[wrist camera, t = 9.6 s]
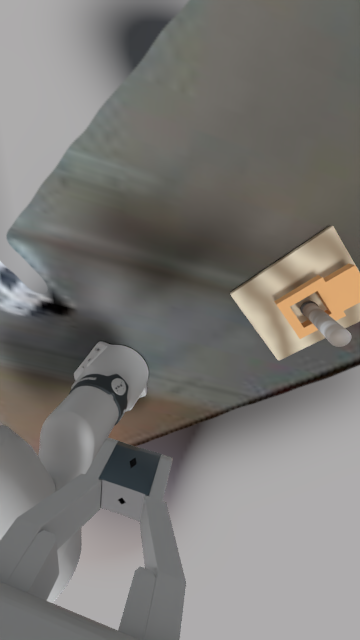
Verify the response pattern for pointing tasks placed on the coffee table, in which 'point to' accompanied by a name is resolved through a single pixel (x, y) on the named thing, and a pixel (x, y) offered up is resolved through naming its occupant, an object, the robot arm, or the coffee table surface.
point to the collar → (323, 297)
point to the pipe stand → (285, 276)
